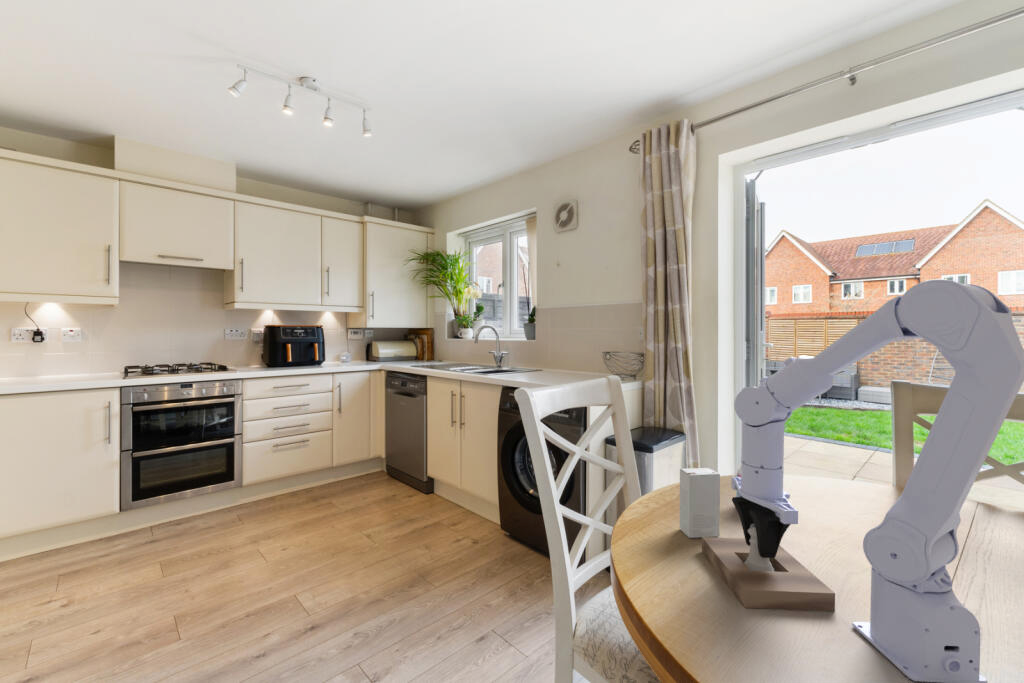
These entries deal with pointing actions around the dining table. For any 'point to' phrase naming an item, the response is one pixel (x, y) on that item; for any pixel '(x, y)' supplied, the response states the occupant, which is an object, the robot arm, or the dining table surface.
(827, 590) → the socket board
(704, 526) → the skincare box
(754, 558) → the rook chess piece
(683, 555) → the dining table surface
